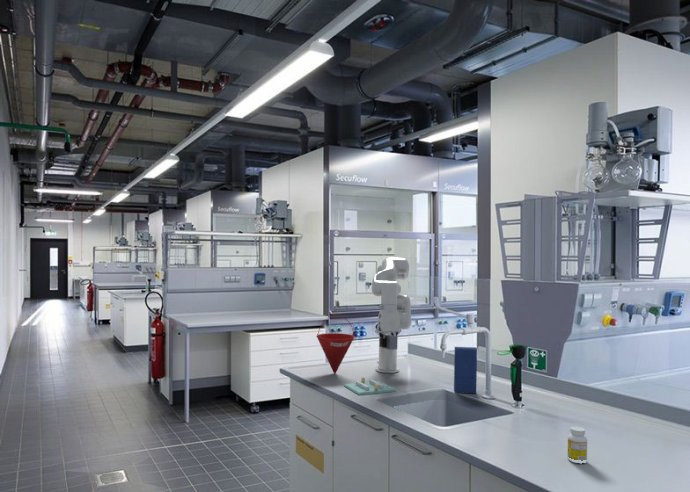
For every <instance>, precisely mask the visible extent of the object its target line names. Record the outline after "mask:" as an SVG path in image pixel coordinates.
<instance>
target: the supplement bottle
mask: <svg viewBox="0 0 690 492" xmlns="http://www.w3.org/2000/svg"><path fill="white" fill-rule="evenodd" d="M569 430H570V434H568V435H567V458H568V457H569V458H571V459H574V460H581V461H583V460H587V461H588V438H587V437H586V436H585V435H586V430H585V428H583V427H580V426H570V428H569Z"/></svg>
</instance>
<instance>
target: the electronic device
mask: <svg viewBox="0 0 690 492" xmlns="http://www.w3.org/2000/svg"><path fill="white" fill-rule="evenodd" d="M453 360H454V361H453V362H454V364H453V365H454V366H453V369H454V370H453V392H454V393H455V394H471V395H472V394H473V395H474V394H475V395H476V394H477V378H478V377H477V375H478V374H477V373H478V372H477V371H478V369H477V367H478V348H476V347H474V346H473V347H470V346H468V347H467V346H454V359H453Z"/></svg>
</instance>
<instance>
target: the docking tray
mask: <svg viewBox="0 0 690 492" xmlns="http://www.w3.org/2000/svg"><path fill="white" fill-rule="evenodd" d="M365 379H366V378H365V377H364V376H362V377H361V379H360V381H359V380H356V381H355V382H351V383H344V384H343V387H344V388H347V390H350V391H352V392H354V393H355V394H357V395H359V396H363V395H373V394H382V393H392V392H393V393H394V392H396V388H394V387H392V386H390V385H388V384H386V383H384V382H382V381H379V380H374V379H369V381H366V380H365Z"/></svg>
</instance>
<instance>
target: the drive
mask: <svg viewBox="0 0 690 492" xmlns="http://www.w3.org/2000/svg"><path fill="white" fill-rule="evenodd" d="M398 336H399V335H397V336H394V335H390V334H386V336H385V339H386V347H382V345H381V337H380V339H379V338H378V348H379V347H382V348H386V349H389V350H394V349H397V350H398V338H399V337H398Z"/></svg>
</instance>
